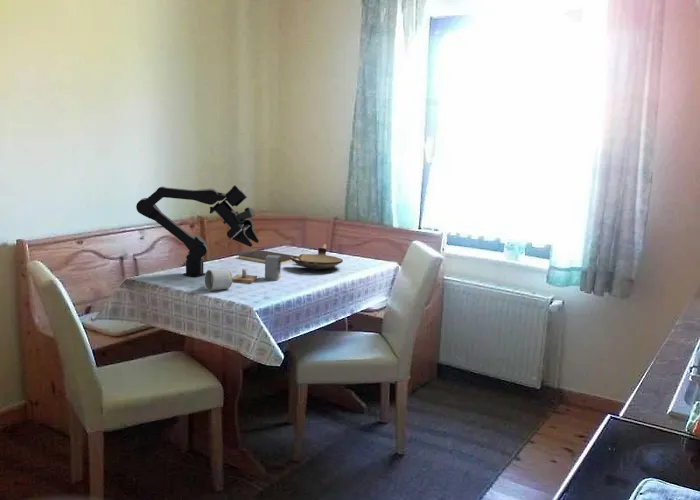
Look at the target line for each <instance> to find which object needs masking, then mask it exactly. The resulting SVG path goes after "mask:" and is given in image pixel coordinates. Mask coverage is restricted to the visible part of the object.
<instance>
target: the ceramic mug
mask: <svg viewBox="0 0 700 500" xmlns="http://www.w3.org/2000/svg"><path fill="white" fill-rule="evenodd" d="M204 273H205V275H204V285H205V288H206V290H208V292H210V291H211V292H212V291H220V290H221V291H222V290H227V289H230V288H231V287H232V285H233V282H232V278H233V276H232V272H231V271H230V270H228V269H208V270H206V272H204Z"/></svg>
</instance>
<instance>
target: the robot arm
mask: <svg viewBox="0 0 700 500" xmlns="http://www.w3.org/2000/svg"><path fill="white" fill-rule="evenodd" d="M163 198H164V199H165V198H167V199H168V198H169V199H178V200H190V201H196V202H199V203H202V204H205V205H208V206H209V205H211V206H209V214H211V215H213V214H214V213H216V214H217V216H219V217H220V218H221V220H222V222H223V224H224V225H227V226H228V227H229V228H230V229H229V230H228V231H226V236H227V237H228V238H229V240H231V239H232V241H236V242H239V243H240V244H242V245H245V246H248V247H250V248H251V247H253V243H252V242H254V243H256V244H258V243H259V242H260V240H259V238H258V236H257V234H256V232H255V231H254V230H255V229H254V225H255V224H254V223H255V222H254V221H253V220H252V218H253V217H255V216H256V214H255V210H254V209H253V208H251V207H250V206H247V207H245V208H244V211H242V212H239V211H237V210H236V211H235V210H234V209H233V208H232V207H238V206H240V204H242V203H243V202H244V201H245V200H246V199H247V198H248V196H247V195H246V194H245V192H244V191H243V190H242V189H240V187H238V186H237V185H235V184H234V185H233V186H232V187H231V188H230V189H229V190H228V191H227V192H226V193H224V192H218V191H217V190H216V189H215V188H202V189H188V188H187V189H186V188H175V187H166V186H160V187H158V188H156V190H155V191H154V192H153V193H151V194H150V195H149V196H148V197H144V198H141V199H140V200H139V201H138V202H137V203H136V207H135V208H136V209H135V210H136V211H137V212H138V213H139V214H140V215H142V216H144V217H146V218H148V219H150V220H152V221H154V222H155V223H157V224H158V225H160V226H161V227H163V228H164V230H166V231H167V232H169V233H170V234H172V235H173V236H174V237H175V238H177V239H178V240H179V241H180V242H182V243H183V244H184V246H185V247H186V248H187V250H189V251H188V252H187V254H186V256H185V258H186V260H185V272H184V273H182V275H183V276H188V277H193V278H196V277H202V276H205V273H206V272H204V259H203V257H204V256H205V255H206V254H207V252H208V245H207V243H206V240H205V239H203V238H201V237H200V235H199V234H196V235H195V236H194V235H191V234H189V233H188V232H187V231H186V230H184V229H183V228H182V227H181V226H179V225H178V224H177V223H176V222H175V221H173V220H172V219H171V218H170V217H168V216H167V215H165V214H164V213H163V212H162V211H161V210H160V208H159V207H158V205H157V203H158V202H159V201H160V200H162V199H163ZM212 205H214V206H212ZM230 205H231V206H230ZM250 240H251V241H252V242H251V241H250Z"/></svg>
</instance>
